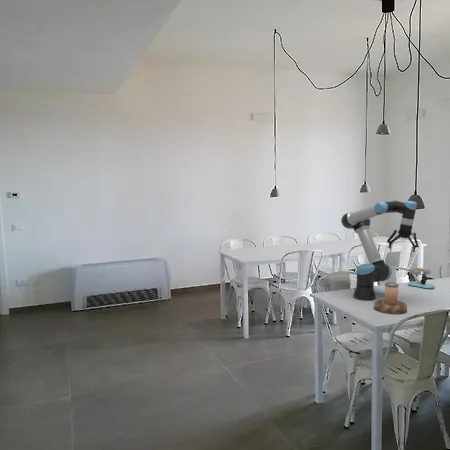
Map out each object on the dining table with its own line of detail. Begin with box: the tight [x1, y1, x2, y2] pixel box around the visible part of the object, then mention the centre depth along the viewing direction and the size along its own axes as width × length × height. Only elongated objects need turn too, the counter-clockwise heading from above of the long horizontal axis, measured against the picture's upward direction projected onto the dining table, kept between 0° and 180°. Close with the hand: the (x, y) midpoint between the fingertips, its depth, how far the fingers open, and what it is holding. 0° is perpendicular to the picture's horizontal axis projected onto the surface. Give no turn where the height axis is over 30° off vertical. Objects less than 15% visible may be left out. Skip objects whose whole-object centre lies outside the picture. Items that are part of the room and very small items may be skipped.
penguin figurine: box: [407, 267, 436, 289], centre depth 372 cm, size 20×11×15 cm, turn 43°
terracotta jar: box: [384, 281, 400, 305], centre depth 309 cm, size 8×8×13 cm
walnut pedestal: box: [373, 299, 408, 315], centre depth 310 cm, size 20×20×4 cm
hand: (400, 255), depth 323 cm, fingers open, 13 cm apart
